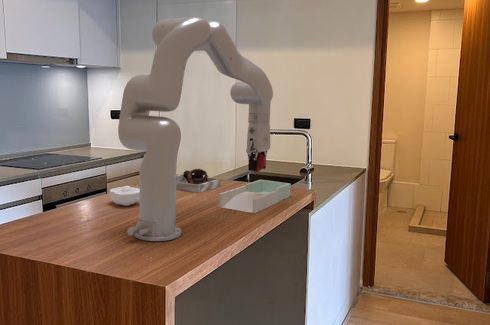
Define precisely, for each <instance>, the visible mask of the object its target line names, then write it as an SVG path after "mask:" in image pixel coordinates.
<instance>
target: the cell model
mask: <svg viewBox="0 0 490 325" xmlns="http://www.w3.org/2000/svg"><path fill="white" fill-rule="evenodd" d="M109 197H110V199H111V200H112V202H114V203H115V204H116V205H120V206H123V207H124V206H125V207H128V206H131V205H134V204H136V203H137V202H139V201H140V187H132V186H130V185H124V186H119V187H114V188H111V189H109Z"/></svg>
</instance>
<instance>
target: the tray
mask: <svg viewBox="0 0 490 325" xmlns="http://www.w3.org/2000/svg"><path fill="white" fill-rule="evenodd" d="M291 185H292V184H291V183H288V182H280V181H274V180H266V179H258V180H255V181H252V182H249V183H246V184H245V185H244V186H247V190H246V191H248V192H255V193H262V194H268V193H270V192H273V191H275V190H278V191H279V192H278V203H279V202H281V201H283V199H284V200H286V199H288V198H290V197H291V189H292V188H291Z"/></svg>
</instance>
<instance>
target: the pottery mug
mask: <svg viewBox="0 0 490 325" xmlns="http://www.w3.org/2000/svg"><path fill="white" fill-rule="evenodd" d="M182 174H183V175H184V178H185V179H186V180H187V182H186V183H189V184H196V185H199V184H202V183H206V182H207V181H208V178H207V177H209V175H208V173H207V171H205V170H204V169H203V168H194V169H192V170H185V171H184V172H183V173H182Z"/></svg>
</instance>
